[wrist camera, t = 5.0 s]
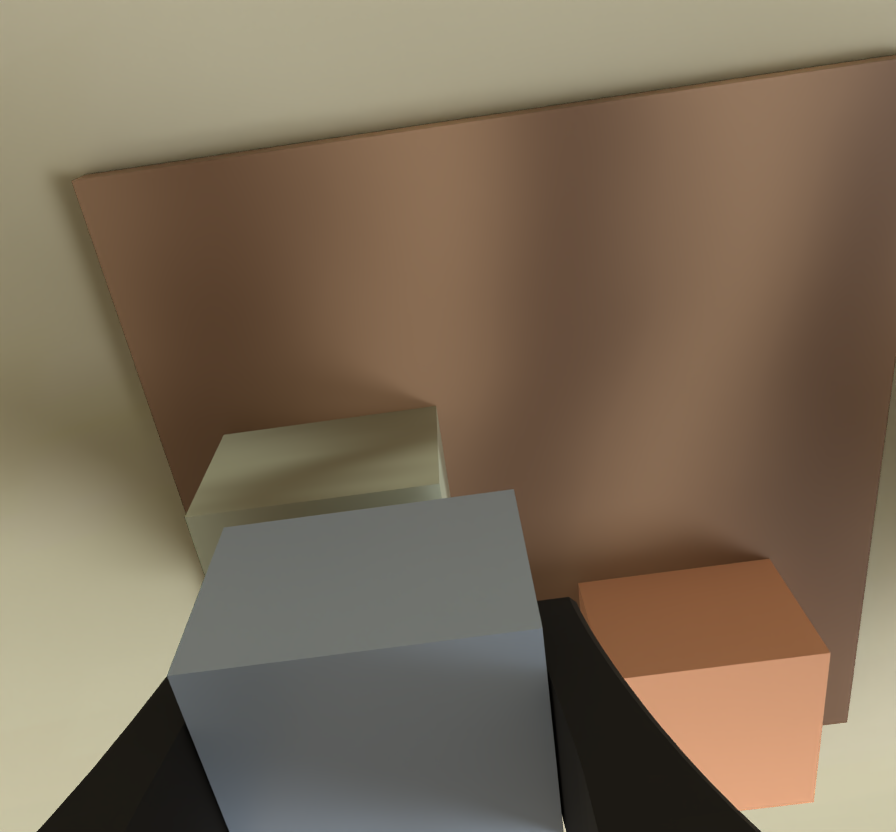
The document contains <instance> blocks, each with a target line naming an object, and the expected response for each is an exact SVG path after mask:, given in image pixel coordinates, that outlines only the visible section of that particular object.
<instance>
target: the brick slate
mask: <svg viewBox="0 0 896 832" xmlns="http://www.w3.org/2000/svg"><path fill="white" fill-rule="evenodd" d="M167 677H168V680H169V682H170V685H171V687H172V690H173V692H174V695H175V697H176V700H177V702H178V705H179V707H180V710H181V712H182V715H183V717H184V720H185V722H186V725H187V727H188V730H189V732H190V735H191V737H192V740H193V742H194V745H195V747H196V750H197V752H198V755H199V757H200V760H201V762H202V765H203V767H204V770H205V772H206V775H207V777H208V780H209V782H210V785H211V787H212V790H213V792H214V795H215V797H216V800H217V802H218V805H219V807H220V810H221V812H222V815H223V817H224V820H225V822H226V825H227V827H228V830H229V832H563V822H562V813H561V803H560V793H559V784H558V774H557V764H556V755H555V745H554V735H553V725H552V716H551V706H550V696H549V687H548V677H547V667H546V658H545V648H544V638H543V628H542V624H541V619H540V614H539V609H538V604H537V599H536V594H535V590H534V585H533V580H532V575H531V570H530V565H529V560H528V556H527V551H526V546H525V541H524V536H523V531H522V527H521V522H520V517H519V512H518V507H517V502H516V497H515V493H514V489H511V490H503V491H496V492H488V493H481V494H473V495H466V496H458V497H451V498H443V499H435V500H428V501H420V502H413V503H405V504H398V505H390V506H383V507H375V508H368V509H360V510H352V511H345V512H337V513H330V514H322V515H315V516H307V517H300V518H292V519H284V520H277V521H269V522H262V523H254V524H247V525H239V526H232V527H224V528H223V531H222V533H221V536H220V539H219V541H218V544H217V546H216V549H215V552H214V554H213V557H212V560H211V562H210V565H209V567H208V570H207V573H206V575H205V578H204V580H203V583H202V586H201V588H200V591H199V594H198V596H197V599H196V601H195V604H194V607H193V609H192V612H191V614H190V617H189V620H188V622H187V625H186V628H185V630H184V633H183V635H182V638H181V641H180V643H179V646H178V648H177V651H176V654H175V656H174V659H173V661H172V664H171V667H170V669H169V672H168V675H167Z"/></svg>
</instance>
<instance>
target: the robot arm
mask: <svg viewBox="0 0 896 832" xmlns="http://www.w3.org/2000/svg"><path fill="white" fill-rule="evenodd" d="M537 604H538V609H539V614H540V619H541V624H542V628H543V638H544V648H545V658H546V667H547V677H548V687H549V696H550V706H551V716H552V725H553V735H554V745H555V755H556V764H557V774H558V784H559V793H560V803H561V813H562V817H563V821H564V824H565V828H566V832H761V831H760V830H759V829H758V828H757V827H756V826H755V825H754V824H752V823H751V822H750V821H749V820H748V819H747V818H746V817H745V816H744V815H743V814H742V813H741V812H740V811H739V810H738V809H737V808H736V807H735V806H734V805H733V804H732V803H731V802H730V801H729V800H728V799H727V798H726V797H725V796H724V795H723V794H722V793H721V792H720V791H719V790H718V789H717V788H716V787H715V786H714V785H713V784H712V783H711V782H710V781H709V780H708V779H707V778H706V777H705V776H704V774H703V773H702V772H701V771H700V770H699V769H698V768H697V767H696V766H695V765H694V764H693V763H692V761H691V760H690V759H689V758H688V757H687V756H686V755H685V754H684V753H683V751H682V750H681V749H680V748H679V747H678V746H677V744H676V743H675V742H674V741H673V740H672V739H671V737H670V736H669V735H668V734H667V733H666V732H665V730H664V729H663V728H662V727H661V726H660V724H659V723H658V722H657V721H656V720H655V718H654V717H653V716H652V715H651V713H650V712H649V711H648V710H647V708H646V707H645V706H644V704H643V703H642V702H641V701H640V699H639V698H638V697H637V695H636V694H635V693H634V691H633V690H632V689H631V687H630V686H629V685H628V683H627V682H626V681H625V679H624V678H623V677H622V675H621V674H620V673H619V671H618V670H617V668H616V667H615V666H614V664H613V663H612V661H611V660H610V658H609V657H608V655H607V654H606V652H605V651H604V649H603V648H602V646H601V645H600V643H599V642H598V640H597V638H596V637H595V635H594V634H593V632H592V630H591V629H590V627H589V625H588V624H587V622H586V620H585V618H584V616H583V614H582V613H581V611H580V609H579V607H578V604H577V602H576V601H574V600H573V599H571V598H570V597H563V598H555V599H547V600H539V601H537ZM37 832H229V830H228V827H227V825H226V822H225V820H224V817H223V815H222V812H221V810H220V807H219V805H218V802H217V800H216V797H215V795H214V792H213V790H212V787H211V785H210V782H209V780H208V777H207V775H206V772H205V770H204V767H203V765H202V762H201V760H200V757H199V755H198V752H197V750H196V747H195V745H194V742H193V740H192V737H191V735H190V732H189V730H188V727H187V725H186V722H185V720H184V717H183V715H182V712H181V710H180V707H179V705H178V702H177V700H176V697H175V695H174V692H173V690H172V687H171V685H170V682H169V680H168V677H166V678H165V679H164V681H163V682H162V683H161V684H160V686H159V687H158V688H157V690H156V691H155V692H154V693H153V695H152V696H151V697H150V698H149V700H148V701H147V702H146V704H145V705H144V706H143V707H142V709H141V710H140V711H139V712H138V714H137V715H136V716H135V717H134V719H133V720H132V721H131V723H130V724H129V725H128V726H127V727H126V729H125V730H124V731H123V732H122V734H121V735H120V736H119V737H118V739H117V740H116V741H115V742H114V743H113V745H112V746H111V747H110V748H109V750H108V751H107V752H106V753H105V754H104V756H103V757H102V758H101V759H100V761H99V762H98V763H97V764H96V765H95V767H94V768H93V769H92V770H91V771H90V772H89V774H88V775H87V776H86V777H85V778H84V779H83V780H82V782H81V783H80V784H79V785H78V786H77V787H76V788H75V790H74V791H73V792H72V793H71V794H70V795H69V796H68V797H67V799H66V800H65V801H64V802H63V803H62V804H61V805H60V807H59V808H58V809H57V810H56V811H55V812H54V813H53V814H52V816H51V817H50V818H49V819H48V820H47V821H46V822H45V823H44V825H43V826H42V827H41V828H40V829H39V830H38V831H37Z"/></svg>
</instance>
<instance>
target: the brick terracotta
mask: <svg viewBox="0 0 896 832" xmlns="http://www.w3.org/2000/svg"><path fill="white" fill-rule="evenodd" d="M578 587H579V600H580V611H581V613H582V614H583V616H584V618H585V620H586V622H587V624H588V625H589V627H590V629H591V630H592V632H593V634H594V635H595V637H596V638H597V640H598V642H599V643H600V645H601V646H602V648H603V649H604V651H605V652H606V654H607V655H608V657H609V658H610V660H611V661H612V663H613V664H614V666H615V667H616V668H617V670H618V671H619V673H620V674H621V675H622V677H623V678H624V679H625V681H626V682H627V683H628V685H629V686H630V687H631V689H632V690H633V691H634V693H635V694H636V695H637V697H638V698H639V699H640V701H641V702H642V703H643V704H644V706H645V707H646V708H647V710H648V711H649V712H650V713H651V715H652V716H653V717H654V718H655V720H656V721H657V722H658V723H659V724H660V726H661V727H662V728H663V729H664V730H665V732H666V733H667V734H668V735H669V736H670V737H671V739H672V740H673V741H674V742H675V743H676V744H677V746H678V747H679V748H680V749H681V750H682V751H683V753H684V754H685V755H686V756H687V757H688V758H689V759H690V760H691V761H692V763H693V764H694V765H695V766H696V767H697V768H698V769H699V770H700V771H701V772H702V773H703V774H704V776H705V777H706V778H707V779H708V780H709V781H710V782H711V783H712V784H713V785H714V786H715V787H716V788H717V789H718V790H719V791H720V792H721V793H722V794H723V795H724V796H725V797H726V798H727V799H728V800H729V801H730V802H731V803H732V804H733V805H734V806H735V807H736V808H737V809H738V810H739V811H742V810H751V809H759V808H768V807H776V806H785V805H793V804H802V803H810V802H814V795H815V786H816V777H817V768H818V760H819V751H820V742H821V733H822V724H823V716H824V707H825V698H826V689H827V681H828V672H829V663H830V654H831V653H830V651H829V650H828V648H827V646H826V645H825V643H824V642H823V640H822V639H821V637H820V636H819V634H818V633H817V631H816V630H815V628H814V626H813V625H812V623H811V622H810V620H809V619H808V617H807V616H806V614H805V613H804V611H803V610H802V608H801V606H800V605H799V603H798V602H797V600H796V599H795V597H794V596H793V594H792V593H791V591H790V590H789V588H788V586H787V585H786V583H785V582H784V580H783V579H782V577H781V576H780V574H779V573H778V571H777V570H776V568H775V566H774V565H773V563H772V562H771V560H770V559H763V560H755V561H747V562H739V563H731V564H724V565H716V566H708V567H700V568H692V569H684V570H677V571H669V572H661V573H653V574H645V575H638V576H630V577H622V578H614V579H606V580H599V581H591V582H583V583H578Z"/></svg>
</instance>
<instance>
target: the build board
mask: <svg viewBox="0 0 896 832" xmlns="http://www.w3.org/2000/svg"><path fill="white" fill-rule="evenodd" d="M72 184H73V187H74V190H75V193H76V196H77V199H78V201H79V204H80V207H81V210H82V213H83V216H84V219H85V222H86V225H87V228H88V230H89V233H90V236H91V239H92V242H93V245H94V248H95V251H96V254H97V257H98V259H99V262H100V265H101V268H102V271H103V274H104V277H105V280H106V283H107V286H108V289H109V291H110V294H111V297H112V300H113V303H114V306H115V309H116V312H117V315H118V318H119V320H120V323H121V326H122V329H123V332H124V335H125V338H126V341H127V344H128V347H129V349H130V352H131V355H132V358H133V361H134V364H135V367H136V370H137V373H138V376H139V378H140V381H141V384H142V387H143V390H144V393H145V396H146V399H147V402H148V405H149V408H150V410H151V413H152V416H153V419H154V422H155V425H156V428H157V431H158V434H159V437H160V439H161V442H162V445H163V448H164V451H165V454H166V457H167V460H168V463H169V466H170V468H171V471H172V474H173V477H174V480H175V483H176V486H177V489H178V492H179V495H180V497H181V500H182V503H183V506H184V509H185V512H186V516H185V520H186V523H187V526H188V529H189V532H190V535H191V537H192V540H193V543H194V546H195V549H196V552H197V555H198V558H199V560H200V563H201V566H202V569H203V572H204V575H206V573H207V570H208V567H209V565H210V562H211V560H212V557H213V554H214V552H215V549H216V546H217V544H218V541H219V539H220V536H221V533H222V531H223V528H224V527H232V526H239V525H247V524H254V523H262V522H269V521H277V520H284V519H292V518H300V517H307V516H315V515H322V514H330V513H337V512H345V511H352V510H360V509H368V508H375V507H383V506H390V505H398V504H405V503H413V502H420V501H428V500H435V499H443V498H451V497H458V496H466V495H473V494H481V493H488V492H496V491H503V490H511V489H514V493H515V497H516V502H517V507H518V512H519V517H520V522H521V527H522V531H523V536H524V541H525V546H526V551H527V556H528V560H529V565H530V570H531V575H532V580H533V585H534V590H535V594H536V599H537V601H539V600H547V599H555V598H563V597H570V598H571V599H573V600H574V601H576V602H577V604H578V607H579V609H580V600H579V587H578V583H583V582H591V581H599V580H606V579H614V578H622V577H630V576H638V575H645V574H653V573H661V572H669V571H677V570H684V569H692V568H700V567H708V566H716V565H724V564H731V563H739V562H747V561H755V560H763V559H770V560H771V562H772V563H773V565H774V566H775V568H776V570H777V571H778V573H779V574H780V576H781V577H782V579H783V580H784V582H785V583H786V585H787V586H788V588H789V590H790V591H791V593H792V594H793V596H794V597H795V599H796V600H797V602H798V603H799V605H800V606H801V608H802V610H803V611H804V613H805V614H806V616H807V617H808V619H809V620H810V622H811V623H812V625H813V626H814V628H815V630H816V631H817V633H818V634H819V636H820V637H821V639H822V640H823V642H824V643H825V645H826V646H827V648H828V650H829V651H830V653H831V654H830V663H829V672H828V681H827V689H826V698H825V707H824V716H823V724H822V725H829V724H837V723H845V722H847V718H848V711H849V703H850V696H851V689H852V681H853V674H854V666H855V659H856V651H857V644H858V636H859V629H860V621H861V614H862V606H863V599H864V591H865V584H866V576H867V569H868V561H869V554H870V546H871V539H872V531H873V524H874V517H875V509H876V502H877V494H878V487H879V479H880V472H881V464H882V457H883V449H884V442H885V434H886V427H887V419H888V412H889V404H890V397H891V389H892V382H893V374H894V367H895V360H896V55H891V56H885V57H878V58H871V59H864V60H858V61H851V62H844V63H837V64H831V65H824V66H817V67H810V68H804V69H797V70H790V71H783V72H777V73H770V74H763V75H756V76H749V77H743V78H736V79H729V80H722V81H716V82H709V83H702V84H695V85H689V86H682V87H675V88H668V89H662V90H655V91H648V92H641V93H635V94H628V95H621V96H614V97H608V98H601V99H594V100H587V101H581V102H574V103H567V104H560V105H554V106H547V107H540V108H533V109H526V110H520V111H513V112H506V113H499V114H493V115H486V116H479V117H472V118H466V119H459V120H452V121H445V122H439V123H432V124H425V125H418V126H412V127H405V128H398V129H391V130H385V131H378V132H371V133H364V134H358V135H351V136H344V137H337V138H331V139H324V140H317V141H310V142H303V143H297V144H290V145H283V146H276V147H270V148H263V149H256V150H249V151H243V152H236V153H229V154H222V155H216V156H209V157H202V158H195V159H189V160H182V161H175V162H168V163H162V164H155V165H148V166H141V167H135V168H128V169H121V170H114V171H108V172H101V173H94V174H87V175H83V176H81V177H79V178H77V179H74V180H72Z"/></svg>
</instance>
